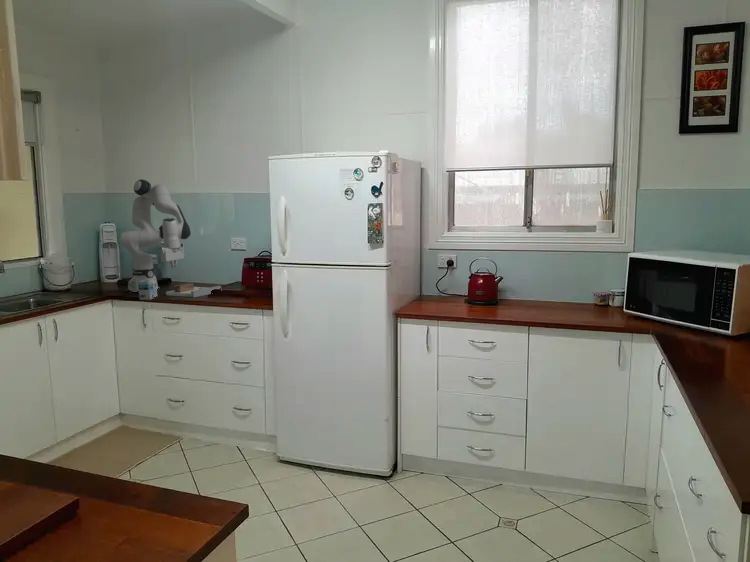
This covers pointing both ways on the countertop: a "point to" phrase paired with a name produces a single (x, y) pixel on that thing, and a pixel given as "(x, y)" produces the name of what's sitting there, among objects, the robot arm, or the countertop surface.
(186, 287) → the walnut block
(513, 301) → the countertop surface
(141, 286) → the light bulb box
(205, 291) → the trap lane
